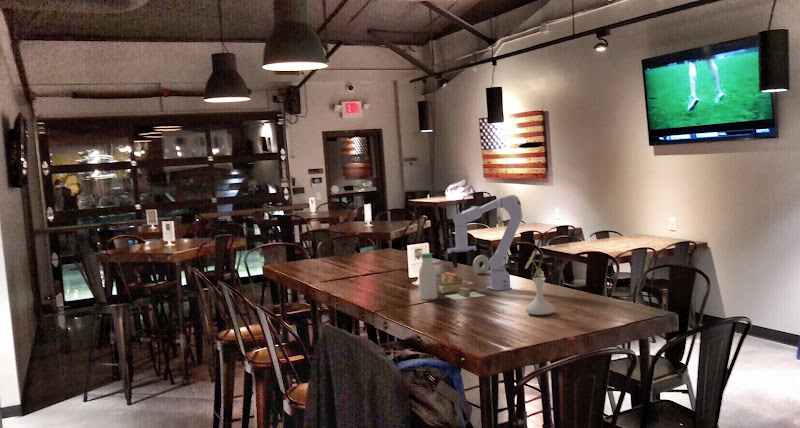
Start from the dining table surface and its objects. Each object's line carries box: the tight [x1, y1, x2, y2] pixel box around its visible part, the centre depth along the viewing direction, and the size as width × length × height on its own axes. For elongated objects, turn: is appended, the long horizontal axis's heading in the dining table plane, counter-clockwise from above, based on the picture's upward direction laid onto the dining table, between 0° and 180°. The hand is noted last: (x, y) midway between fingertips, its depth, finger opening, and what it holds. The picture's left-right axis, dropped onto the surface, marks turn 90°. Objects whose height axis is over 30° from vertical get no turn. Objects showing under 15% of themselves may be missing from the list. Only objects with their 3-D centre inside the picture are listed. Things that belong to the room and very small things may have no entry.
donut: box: [472, 254, 490, 275], centre depth 359 cm, size 10×4×10 cm, turn 116°
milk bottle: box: [418, 252, 438, 301], centre depth 300 cm, size 8×8×20 cm
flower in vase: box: [524, 250, 556, 316], centre depth 260 cm, size 13×11×25 cm
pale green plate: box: [444, 287, 487, 301], centre depth 303 cm, size 10×15×4 cm
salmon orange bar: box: [443, 271, 459, 278], centre depth 331 cm, size 10×2×2 cm, turn 24°
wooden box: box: [437, 279, 475, 295], centre depth 317 cm, size 11×16×3 cm
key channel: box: [440, 273, 463, 283], centre depth 330 cm, size 13×5×5 cm, turn 24°
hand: (462, 266), depth 322 cm, fingers open, 7 cm apart
